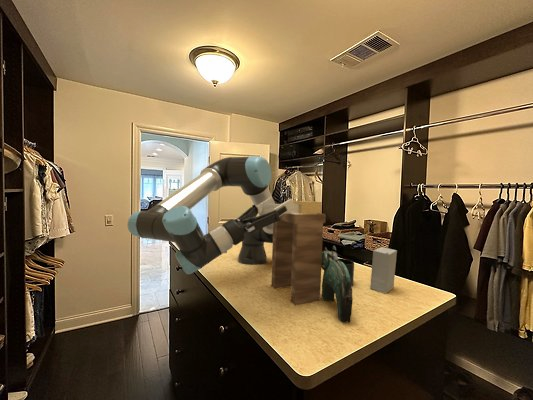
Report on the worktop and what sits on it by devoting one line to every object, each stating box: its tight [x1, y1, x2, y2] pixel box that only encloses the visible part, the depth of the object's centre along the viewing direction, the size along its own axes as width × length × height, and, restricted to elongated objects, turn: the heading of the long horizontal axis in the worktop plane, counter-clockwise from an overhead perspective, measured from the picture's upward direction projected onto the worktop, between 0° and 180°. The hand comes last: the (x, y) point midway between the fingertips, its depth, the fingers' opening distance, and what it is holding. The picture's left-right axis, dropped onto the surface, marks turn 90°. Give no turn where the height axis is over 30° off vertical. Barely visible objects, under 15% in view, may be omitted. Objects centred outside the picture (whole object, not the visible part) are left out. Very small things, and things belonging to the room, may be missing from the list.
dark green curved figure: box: [321, 245, 354, 323], centre depth 82 cm, size 20×6×20 cm, turn 4°
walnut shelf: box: [270, 213, 327, 306], centre depth 93 cm, size 18×12×30 cm, turn 25°
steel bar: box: [258, 200, 323, 214], centre depth 85 cm, size 5×22×4 cm, turn 115°
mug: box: [338, 257, 355, 286], centre depth 105 cm, size 9×12×9 cm
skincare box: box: [370, 246, 398, 294], centre depth 100 cm, size 8×7×16 cm
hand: (282, 201), depth 84 cm, fingers open, 13 cm apart
